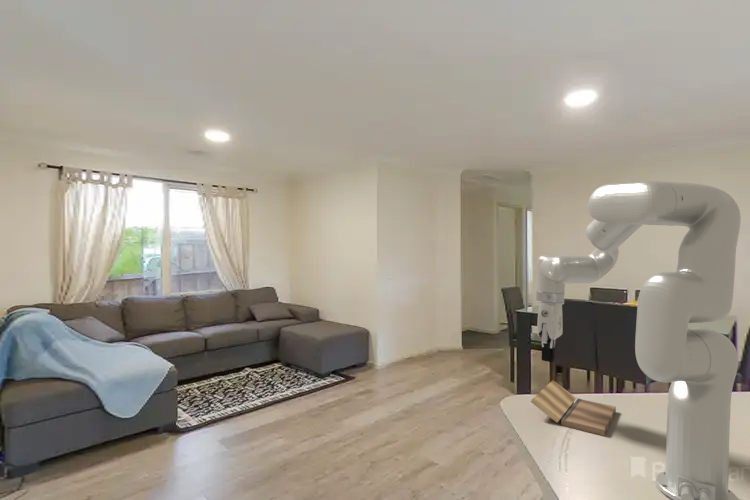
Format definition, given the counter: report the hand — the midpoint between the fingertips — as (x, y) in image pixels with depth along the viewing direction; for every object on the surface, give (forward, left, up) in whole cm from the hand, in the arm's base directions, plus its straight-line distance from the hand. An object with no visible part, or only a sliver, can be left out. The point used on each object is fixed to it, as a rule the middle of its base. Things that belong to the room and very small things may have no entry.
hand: (547, 360), depth 123 cm
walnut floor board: (0, -11, -14) cm, 18 cm away
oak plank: (0, -2, -12) cm, 12 cm away
